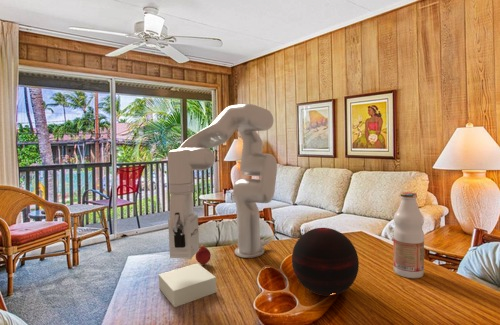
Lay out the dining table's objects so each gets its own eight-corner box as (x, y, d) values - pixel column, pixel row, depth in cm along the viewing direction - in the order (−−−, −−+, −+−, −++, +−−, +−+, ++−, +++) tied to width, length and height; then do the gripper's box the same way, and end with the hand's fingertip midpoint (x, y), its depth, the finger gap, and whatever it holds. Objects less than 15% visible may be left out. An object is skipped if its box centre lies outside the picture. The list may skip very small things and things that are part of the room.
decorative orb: (292, 308, 87) (291, 239, 85) (292, 276, 106) (291, 220, 105) (366, 311, 84) (365, 240, 82) (351, 277, 104) (351, 220, 102)
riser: (198, 276, 109) (197, 263, 108) (216, 292, 97) (215, 277, 97) (159, 288, 101) (158, 274, 101) (174, 307, 90) (173, 291, 89)
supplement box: (191, 259, 94) (189, 219, 93) (169, 258, 95) (166, 218, 94) (200, 250, 101) (198, 213, 100) (179, 249, 102) (177, 212, 101)
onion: (213, 262, 121) (212, 243, 120) (206, 268, 115) (205, 248, 115) (200, 261, 123) (199, 241, 122) (193, 267, 117) (192, 247, 116)
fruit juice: (402, 279, 101) (402, 196, 98) (388, 267, 110) (388, 191, 108) (430, 278, 101) (430, 195, 99) (413, 266, 110) (414, 190, 108)
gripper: (179, 184, 105) (182, 234, 107) (158, 193, 88) (162, 252, 90) (200, 183, 105) (203, 234, 106) (183, 193, 87) (187, 252, 89)
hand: (184, 242), depth 98 cm, fingers closed on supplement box, 7 cm apart
